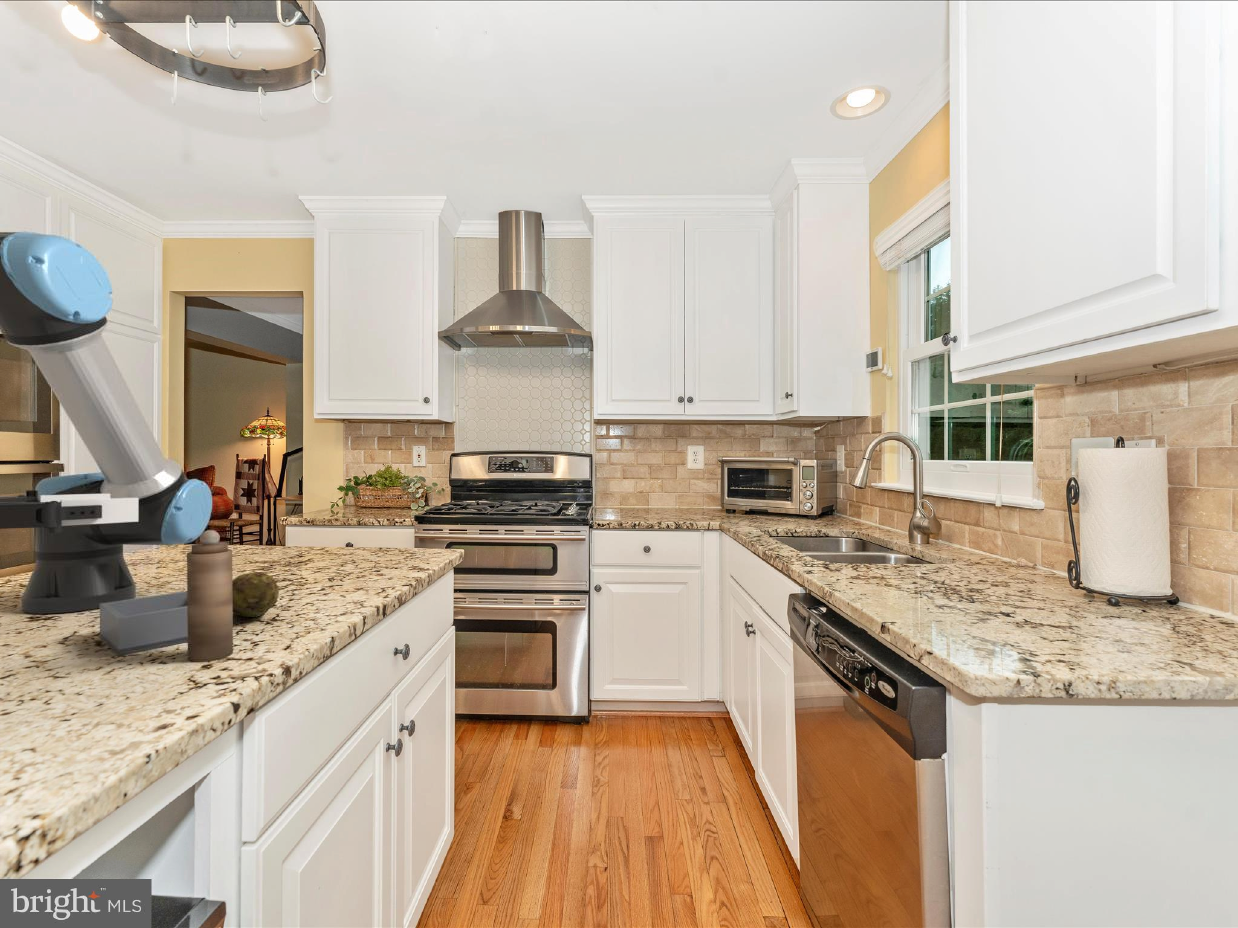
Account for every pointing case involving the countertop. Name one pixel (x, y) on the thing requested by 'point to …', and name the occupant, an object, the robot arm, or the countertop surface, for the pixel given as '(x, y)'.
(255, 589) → the potato
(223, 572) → the pepper mill
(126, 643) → the tub
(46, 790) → the countertop surface
